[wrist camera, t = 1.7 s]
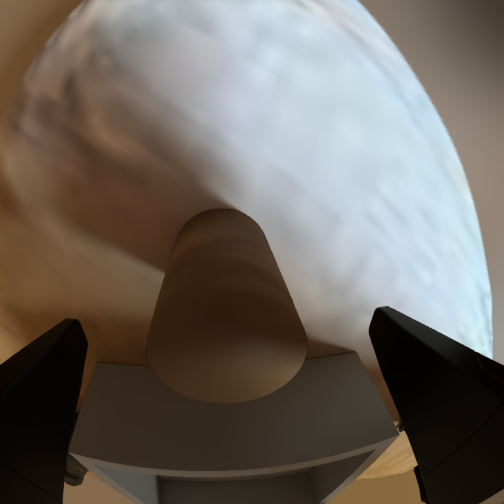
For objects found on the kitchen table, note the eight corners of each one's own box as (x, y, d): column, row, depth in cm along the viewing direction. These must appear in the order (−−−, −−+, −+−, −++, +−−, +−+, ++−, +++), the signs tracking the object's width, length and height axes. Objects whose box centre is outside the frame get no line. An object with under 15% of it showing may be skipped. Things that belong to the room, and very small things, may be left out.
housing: (356, 351, 16) (399, 434, 10) (311, 452, 22) (325, 503, 17) (96, 362, 14) (68, 452, 8) (155, 461, 21) (153, 514, 15)
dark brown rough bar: (75, 402, 16) (60, 448, 12) (118, 423, 17) (110, 469, 13) (55, 450, 21) (48, 477, 17) (82, 463, 23) (77, 490, 18)
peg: (270, 207, 11) (319, 287, 6) (266, 291, 13) (296, 397, 7) (170, 210, 11) (129, 293, 5) (179, 294, 12) (163, 403, 7)
